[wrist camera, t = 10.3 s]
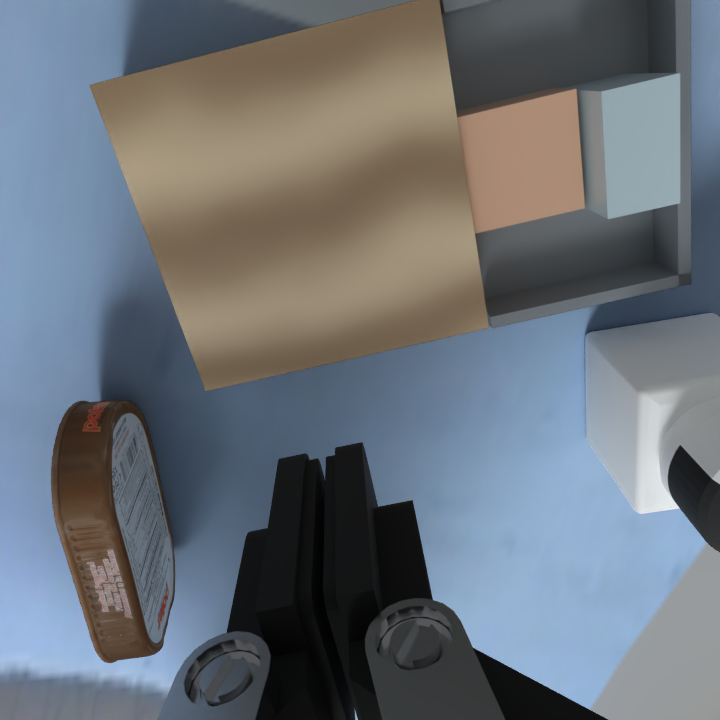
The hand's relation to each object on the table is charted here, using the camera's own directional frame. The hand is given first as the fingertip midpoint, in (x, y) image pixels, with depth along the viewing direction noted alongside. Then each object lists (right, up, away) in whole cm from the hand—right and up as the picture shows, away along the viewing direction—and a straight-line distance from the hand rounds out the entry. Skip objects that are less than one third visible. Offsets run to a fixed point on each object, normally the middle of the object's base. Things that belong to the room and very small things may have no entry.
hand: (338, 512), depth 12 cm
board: (-2, +11, +18) cm, 21 cm away
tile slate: (+10, +12, +15) cm, 22 cm away
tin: (-12, -4, +25) cm, 28 cm away
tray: (+10, +13, +18) cm, 24 cm away
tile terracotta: (+7, +13, +17) cm, 23 cm away
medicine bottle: (+17, +2, +23) cm, 29 cm away
